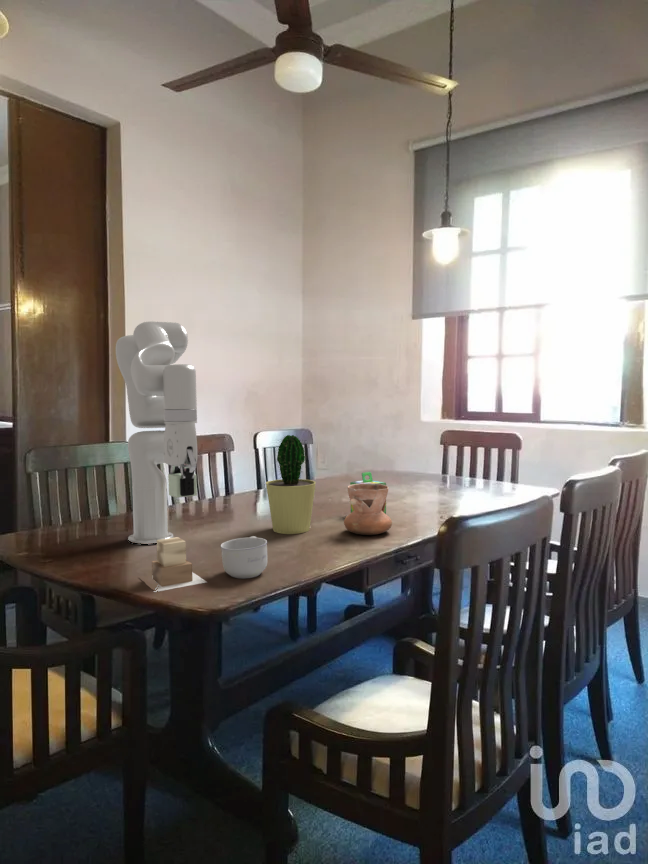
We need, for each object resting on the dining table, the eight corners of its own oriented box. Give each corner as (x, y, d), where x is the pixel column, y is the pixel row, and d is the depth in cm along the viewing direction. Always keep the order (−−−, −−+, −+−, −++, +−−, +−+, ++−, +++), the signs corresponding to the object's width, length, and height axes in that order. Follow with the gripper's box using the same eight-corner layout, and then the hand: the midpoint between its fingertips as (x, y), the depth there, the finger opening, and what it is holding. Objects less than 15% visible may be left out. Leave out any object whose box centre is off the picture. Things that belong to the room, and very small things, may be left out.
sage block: (168, 495, 146) (168, 474, 146) (188, 493, 149) (188, 472, 149) (176, 497, 142) (176, 476, 142) (196, 495, 145) (196, 474, 144)
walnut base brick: (152, 578, 140) (151, 561, 140) (181, 573, 144) (181, 556, 144) (162, 586, 134) (161, 568, 134) (192, 581, 138) (192, 563, 138)
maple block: (157, 561, 140) (156, 540, 139) (178, 558, 142) (177, 537, 142) (164, 566, 136) (164, 544, 135) (186, 563, 138) (185, 541, 138)
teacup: (254, 584, 137) (253, 549, 136) (212, 579, 141) (211, 545, 140) (281, 567, 150) (280, 535, 149) (242, 563, 154) (241, 531, 153)
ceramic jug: (372, 541, 175) (372, 492, 174) (331, 534, 184) (331, 487, 183) (405, 530, 189) (405, 484, 188) (366, 523, 198) (366, 480, 197)
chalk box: (368, 519, 204) (368, 475, 203) (349, 515, 211) (349, 472, 210) (387, 515, 210) (387, 472, 209) (368, 511, 217) (368, 469, 216)
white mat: (137, 579, 141) (137, 577, 141) (187, 570, 148) (187, 569, 147) (154, 593, 131) (154, 591, 131) (207, 583, 137) (207, 582, 137)
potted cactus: (255, 530, 189) (254, 433, 187) (290, 522, 200) (289, 430, 198) (291, 538, 179) (291, 435, 177) (326, 529, 190) (325, 432, 188)
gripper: (152, 417, 149) (154, 491, 150) (178, 418, 135) (181, 500, 136) (182, 416, 153) (184, 488, 154) (210, 417, 139) (212, 496, 140)
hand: (182, 493), depth 145 cm, fingers closed on sage block, 5 cm apart
